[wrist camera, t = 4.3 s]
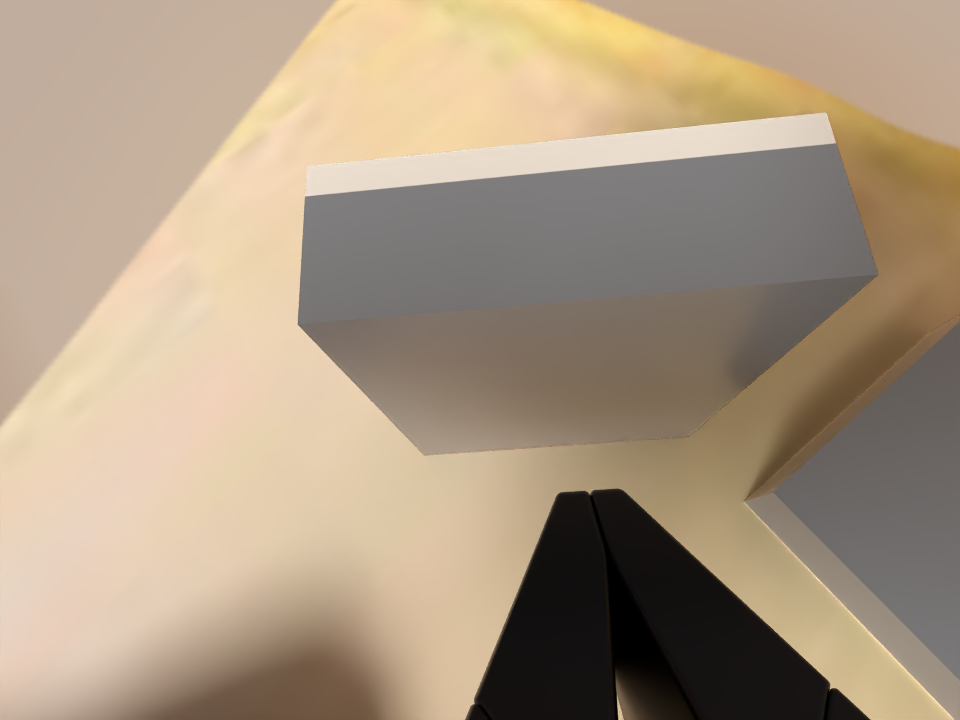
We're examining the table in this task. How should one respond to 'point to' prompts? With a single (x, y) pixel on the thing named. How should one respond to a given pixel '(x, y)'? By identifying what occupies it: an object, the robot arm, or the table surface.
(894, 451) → the twin tile
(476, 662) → the table surface
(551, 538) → the robot arm
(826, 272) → the tile
